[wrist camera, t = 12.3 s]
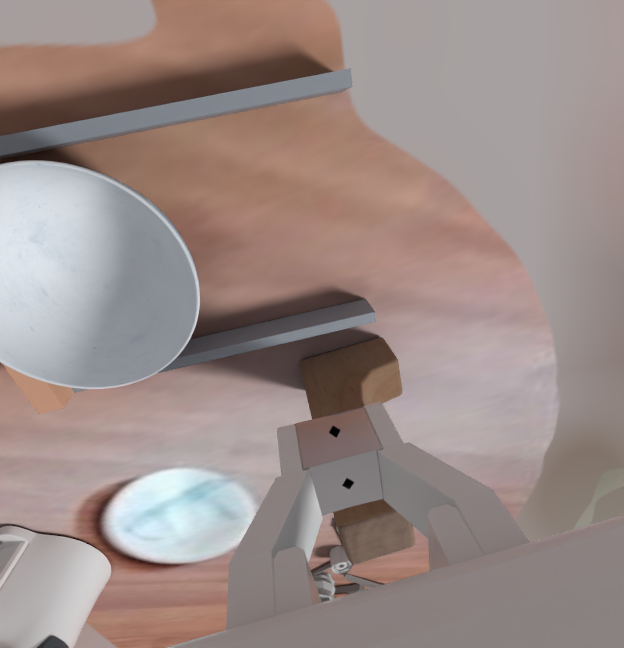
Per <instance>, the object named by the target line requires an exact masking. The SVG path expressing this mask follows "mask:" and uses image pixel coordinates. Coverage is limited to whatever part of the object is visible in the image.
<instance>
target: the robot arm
mask: <svg viewBox="0 0 624 648" xmlns="http://www.w3.org/2000/svg"><path fill="white" fill-rule="evenodd" d="M277 437H278V446H279V456H280V466H281V475H282V476H281V477H277V478H276V479H275V481H274V483H273V485H272V486H271V488H270V490H269V492H268V494H267V495H266V497H265V499H264V501H263V503H262V505H261V506H260V508H259V510H258V512H257V514H256V515H255V517H254V519H253V521H252V523H251V525H250V526H249V528H248V530H247V532H246V534H245V535H244V537H243V539H242V541H241V543H240V544H239V546H238V548H237V550H236V552H235V554H234V555H233V557H232V559H231V561H230V563H229V580H228V602H227V624H226V630H225V631H222V632H218V633H215V634H212V635H208V636H205V637H201V638H198V639H194V640H191V641H187V642H184V643H180V644H177V645H174V646H170V647H167V648H624V515H623V516H619V517H615V518H612V519H609V520H605V521H602V522H598V523H595V524H591V525H588V526H584V527H581V528H578V529H574V530H571V531H567V532H564V533H560V534H557V535H554V536H550V537H547V538H543V539H540V540H536V541H533V542H530V541H529V540H528V538H527V537H526V536H525V534H524V533H523V531H522V530H521V529H520V527H519V526H518V524H517V523H516V521H515V520H514V519H513V517H512V516H511V514H510V513H509V512H508V510H507V509H506V507H505V506H504V504H503V503H502V502H501V500H500V499H499V497H498V496H497V495H496V493H495V492H494V490H492V489H490V488H489V487H487V486H485V485H483V484H482V483H480V482H478V481H476V480H475V479H473V478H471V477H469V476H468V475H466V474H464V473H462V472H460V471H459V470H457V469H455V468H453V467H452V466H450V465H448V464H446V463H445V462H443V461H441V460H439V459H438V458H436V457H434V456H432V455H430V454H429V453H427V452H425V451H423V450H422V449H420V448H418V447H416V446H415V445H413V444H411V443H403V441H402V439H401V437H400V436H399V434H398V432H397V430H396V428H395V426H394V424H393V422H392V420H391V418H390V416H389V415H388V413H387V411H386V409H385V407H384V405H383V403H381V402H377V403H373V404H369V405H366V406H363V407H359V408H355V409H351V410H348V411H344V412H340V413H337V414H333V415H329V416H325V417H321V418H317V419H313V420H308V421H304V422H300V423H296V425H295V424H293V425H289V426H284V427H280V428H278V429H277ZM380 499H384V501H386V502H387V503H388V504H389V505H390V506H391V507H392V508H394V509H395V510H396V511H397V512H398V513H399V514H400V515H402V516H403V517H404V518H405V519H406V520H407V521H408V522H410V523H411V524H412V525H413V526H414V527H415V528H416V529H418V530H419V531H420V532H421V533H422V534H423V535H424V536H426V537H427V538H428V543H429V568H430V571H429V572H426V573H422V574H419V575H415V576H412V577H408V578H405V579H401V580H398V581H394V582H391V583H387V584H384V585H381V586H377V587H374V588H370V589H367V590H363V591H360V592H356V593H353V594H349V595H346V596H342V597H339V598H336V599H332V600H329V601H325V602H321V599H320V596H319V593H318V590H317V587H316V584H315V581H314V579H313V576H312V573H311V570H310V567H309V564H308V562H309V559H310V556H311V553H312V550H313V546H314V543H315V540H316V537H317V534H318V531H319V527H320V524H321V521H322V515H326V514H329V513H332V512H336V511H339V510H342V509H345V508H349V507H352V506H356V505H360V504H364V503H368V502H372V501H376V500H380ZM110 575H111V566H110V563H109V561H108V559H107V558H106V557H105V556H104V555H103V554H102V553H101V552H100V551H99V550H97V549H96V548H94V547H93V546H91V545H89V544H86V543H84V542H81V541H79V540H75V539H72V538H67V537H62V536H54V535H44V534H38V533H35V532H32V531H29V530H26V529H23V528H20V527H16V526H4V527H1V528H0V648H74V646H75V644H76V641H77V639H78V637H79V634H80V632H81V630H82V628H83V626H84V624H85V622H86V619H87V617H88V615H89V613H90V611H91V609H92V608H93V606H94V604H95V602H96V600H97V598H98V596H99V595H100V593H101V591H102V590H103V588H104V586H105V585H106V583H107V582H108V580H109V578H110Z"/></svg>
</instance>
